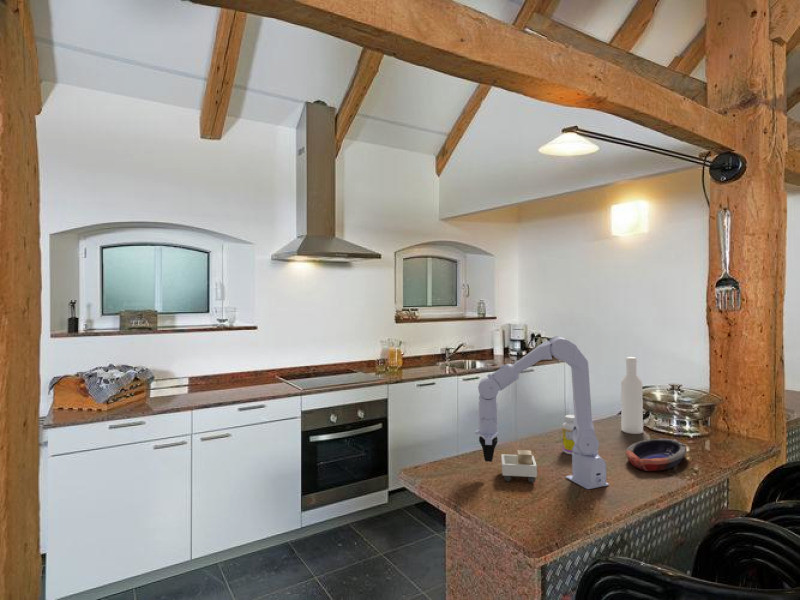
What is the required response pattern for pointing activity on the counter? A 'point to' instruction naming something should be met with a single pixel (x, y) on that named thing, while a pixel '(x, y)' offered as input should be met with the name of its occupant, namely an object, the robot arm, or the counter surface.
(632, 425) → the bottle
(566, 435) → the supplement bottle
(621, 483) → the counter surface
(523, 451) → the block
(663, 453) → the dish
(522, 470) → the white open storage bin
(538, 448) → the counter surface
